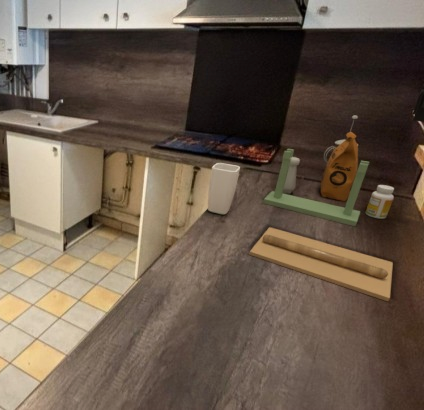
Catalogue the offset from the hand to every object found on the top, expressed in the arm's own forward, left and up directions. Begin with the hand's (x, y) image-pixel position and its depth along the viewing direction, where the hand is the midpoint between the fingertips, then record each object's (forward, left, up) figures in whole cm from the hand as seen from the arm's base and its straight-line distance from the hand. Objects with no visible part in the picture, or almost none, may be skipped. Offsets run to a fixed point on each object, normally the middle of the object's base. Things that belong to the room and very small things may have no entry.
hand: (419, 117), depth 96 cm
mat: (+10, +36, -32) cm, 49 cm away
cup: (+40, +24, -32) cm, 56 cm away
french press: (+17, -45, -32) cm, 58 cm away
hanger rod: (+10, +37, -30) cm, 49 cm away
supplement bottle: (+1, -7, -32) cm, 33 cm away
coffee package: (+14, -19, -32) cm, 40 cm away
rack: (+18, +2, -32) cm, 37 cm away
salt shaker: (+28, -10, -32) cm, 44 cm away
